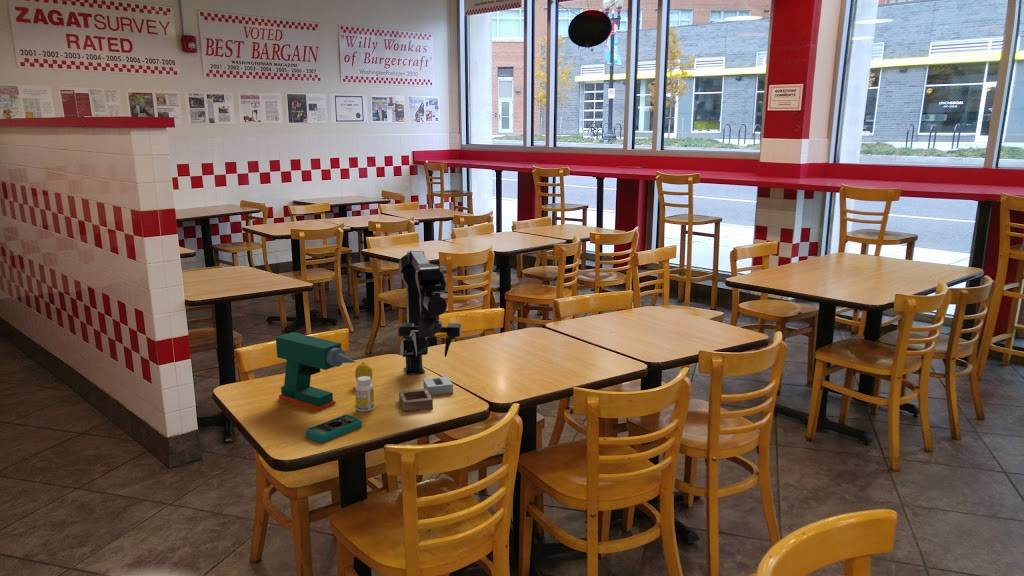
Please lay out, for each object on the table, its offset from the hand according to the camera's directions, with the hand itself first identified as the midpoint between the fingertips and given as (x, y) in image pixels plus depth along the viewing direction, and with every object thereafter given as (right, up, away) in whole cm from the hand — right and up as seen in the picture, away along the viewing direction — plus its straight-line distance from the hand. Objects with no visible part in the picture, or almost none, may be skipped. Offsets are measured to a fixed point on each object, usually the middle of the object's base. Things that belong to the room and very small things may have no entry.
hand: (430, 356), depth 221 cm
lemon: (-23, -11, +14) cm, 29 cm away
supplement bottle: (-19, -15, -6) cm, 25 cm away
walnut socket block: (-4, -14, -3) cm, 15 cm away
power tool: (-32, -15, -4) cm, 36 cm away
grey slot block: (+1, -12, +9) cm, 15 cm away
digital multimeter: (-24, -19, -22) cm, 38 cm away
